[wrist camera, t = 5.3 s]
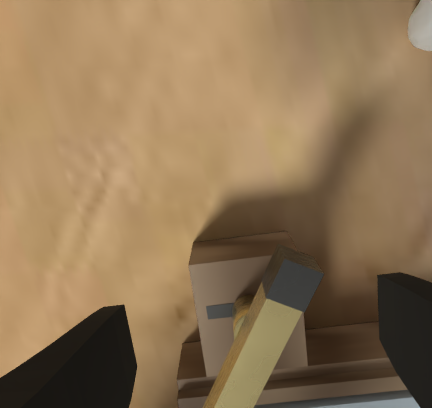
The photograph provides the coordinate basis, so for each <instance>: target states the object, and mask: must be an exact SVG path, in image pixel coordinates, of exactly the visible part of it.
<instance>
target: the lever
mask: <svg viewBox="0 0 432 408" xmlns="http://www.w3.org/2000/svg"><path fill="white" fill-rule="evenodd" d="M323 275H324V273H323V271H322V270H321V268H320V267H319V265H318V263H317V262H316V260H315V259H314V257H312V256H309V255H307V254H304V253H301V252H299V251H296V250H294V249H291V248H288V247H286V246H283V245H281V244H277V246H276V249H275V251H274V253H273V255H272V257H271V259H270V261H269V264H268V266H267V268H266V270H265V272H264V274H263V276H262V278H261V281H262V282H261V284H260V287H259V289H258V291H257V293H256V295H244V296H242V297H240V298H238V299H237V300H236V301H235V303H234V305H233V308H232V314H233V330H234V342H233V344H232V346H231V348H230V350H229V353H228V355H227V357H226V359H225V361H224V363H223V365H222V367H221V370H220V372H219V374H218V376H217V378H216V380H215V382H214V384H213V387H212V389H211V391H210V393H209V395H208V397H207V399H206V402H205V404H204V406H203V408H254V406H255V404H256V402H257V400H258V398H259V396H260V394H261V392H262V390H263V388H264V386H265V384H266V382H267V381H268V379H269V377H270V375H271V373H272V371H273V369H274V367H275V365H276V363H277V361H278V359H279V357H280V355H281V353H282V351H283V349H284V347H285V345H286V343H287V341H288V339H289V337H290V336H291V334H292V332H293V330H294V328H295V326H296V324H297V322H298V320H299V318H300V316H301V314H302V312H305V310H306V309H307V307H308V305H309V303H310V301H311V299H312V297H313V295H314V293H315V291H316V289H317V287H318V285H319V283H320V281H321V279H322V277H323Z"/></svg>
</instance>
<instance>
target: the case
mask: <svg viewBox="0 0 432 408" xmlns="http://www.w3.org/2000/svg"><path fill="white" fill-rule="evenodd" d="M277 244H281V245H283V246H286V247H288V248H291V249H294V250H296V251H297V249H296V247H295V245H294V243H293V242H292V240H291V238H290V236H289V234H288V232H287V231H283V232H275V233H267V234H259V235H251V236H242V237H234V238H226V239H218V240H210V241H201V242H193V246H192V251H191V256H190V261H189V271H190V277H191V283H192V289H193V295H194V302H195V308H196V314H197V320H198V326H199V332H200V339H201V341H199V342H190V343H183V344H182V351H181V357H180V363H179V369H178V376H177V384H178V389H179V392H178V398H177V400H178V405H179V408H203V406H204V404H205V402H206V399H207V397H208V395H209V393H210V391H211V389H212V387H213V384H214V382H215V380H216V378H217V376H218V374H219V372H220V370H221V367H222V365H223V363H224V361H225V359H226V357H227V355H228V353H229V350H230V348H231V346H232V344H233V342H234V330H233V314H232V308H233V305H234V303H235V301H236V300H237V299H238V298H240V297H242V296H244V295H256V293H257V291H258V289H259V287H260V284H261V282H262V281H261V278H262V276H263V274H264V272H265V270H266V268H267V266H268V264H269V261H270V259H271V257H272V255H273V253H274V251H275V249H276V246H277ZM398 390H408V389H407V388H406V386H405V385H404V383H403V382H402V380H401V379H400V377H399V376H398V374H397V373H396V371H395V369H394V368H393V366H392V364H391V362H390V360H389V358H388V356H387V354H386V352H385V350H384V348H383V346H382V344H381V342H380V340H379V322H371V323H362V324H353V325H344V326H335V327H326V328H317V329H308V330H305V326H304V314H303V312H302V314H301V316H300V318H299V320H298V322H297V324H296V326H295V328H294V330H293V332H292V334H291V336H290V337H289V339H288V341H287V343H286V345H285V347H284V349H283V351H282V353H281V355H280V357H279V359H278V361H277V363H276V365H275V367H274V369H273V371H272V373H271V375H270V377H269V379H268V381H267V382H266V384H265V386H264V388H263V390H262V392H261V394H260V396H259V398H258V400H257V402H256V404H255V405H262V404H272V403H281V402H291V401H301V400H311V399H320V398H330V397H340V396H350V395H359V394H369V393H379V392H389V391H398Z"/></svg>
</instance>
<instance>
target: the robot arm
mask: <svg viewBox="0 0 432 408" xmlns="http://www.w3.org/2000/svg"><path fill="white" fill-rule="evenodd" d="M377 278H378V311H379V340H380V342H381V344H382V346H383V348H384V350H385V352H386V354H387V356H388V358H389V360H390V362H391V364H392V366H393V368H394V369H395V371H396V373H397V374H398V376H399V377H400V379H401V380H402V382H403V383H404V385H405V386H406V388H407V389H408V391H409V392H410V394H411V395H412V396H413V398H414V399H415V401H416V402H417V404H418V405H419V407H420V408H432V283H431V282H428V281H425V280H423V279H420V278H417V277H414V276H411V275H408V274H404V273H400V272H399V273H391V274H382V275H377ZM136 370H137V363H136V358H135V353H134V348H133V344H132V339H131V334H130V330H129V325H128V320H127V316H126V311H125V306H124V305H116V306H108V307H103V308H101V309H99V310H97V311H96V312H94V313H93V314H91V315H90V316H89V317H87V318H86V319H84V320H83V321H82V322H80V323H79V324H78V325H76V326H75V327H73V328H72V329H71V330H69V331H68V332H67V333H65V334H64V335H63V336H61V337H60V338H59V339H57V340H56V341H54V342H53V343H52V344H50V345H49V346H47V347H46V348H45V349H43V350H42V351H40V352H39V353H37V354H36V355H34V356H33V357H31V358H30V359H28V360H27V361H26V362H24V363H23V364H21V365H20V366H18V367H17V368H15V369H14V370H12V371H10V372H9V373H7V374H6V375H4V376H2V377H1V378H0V408H129V405H130V402H131V398H132V392H133V387H134V382H135V376H136Z"/></svg>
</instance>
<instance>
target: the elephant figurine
mask: <svg viewBox="0 0 432 408" xmlns="http://www.w3.org/2000/svg"><path fill="white" fill-rule="evenodd" d="M408 38H409V40H410V42H411V43H412V44H413V46H414V47H417V48H419V49H422V50H425V51H432V0H420V2H419V4H418V5H417V7H416V8H415V9H414V11H413V13H412V14H411V16H410V18H409V23H408Z"/></svg>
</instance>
